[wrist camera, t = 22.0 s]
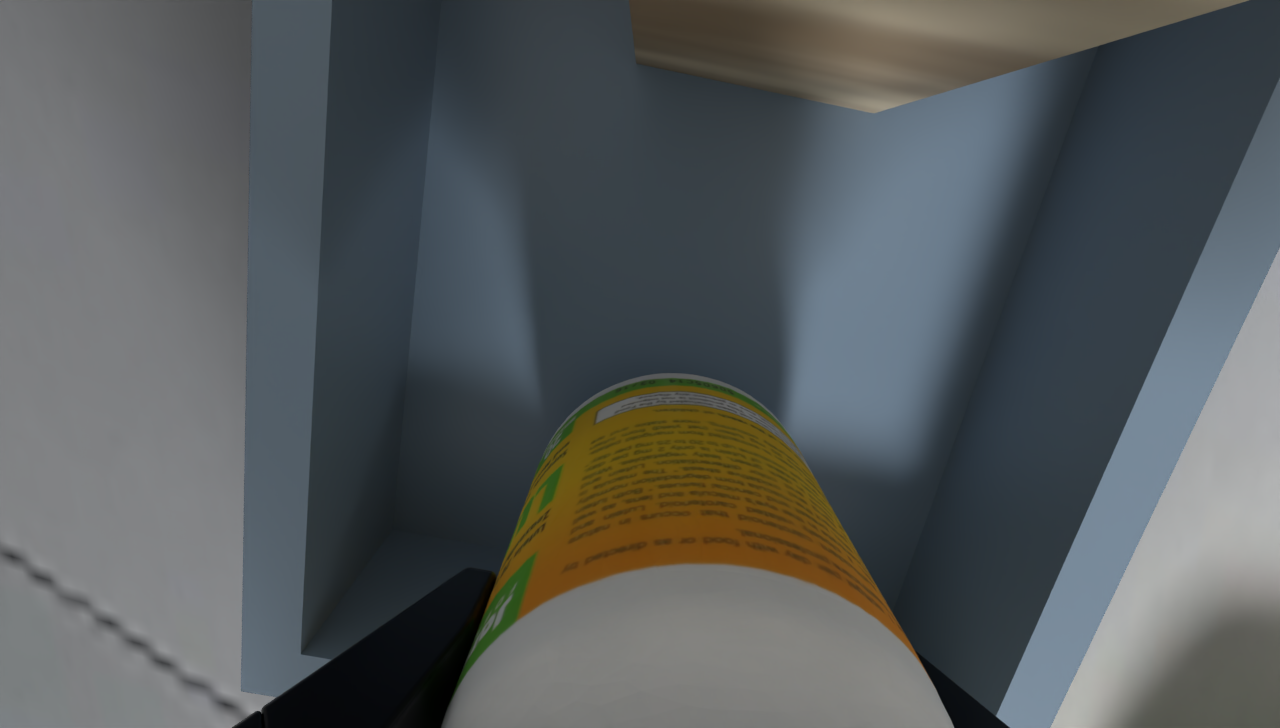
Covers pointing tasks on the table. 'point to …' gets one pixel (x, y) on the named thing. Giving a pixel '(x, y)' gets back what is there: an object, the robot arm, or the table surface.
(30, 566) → the table surface
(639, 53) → the tall ash block
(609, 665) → the supplement bottle
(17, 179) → the table surface
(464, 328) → the tote
